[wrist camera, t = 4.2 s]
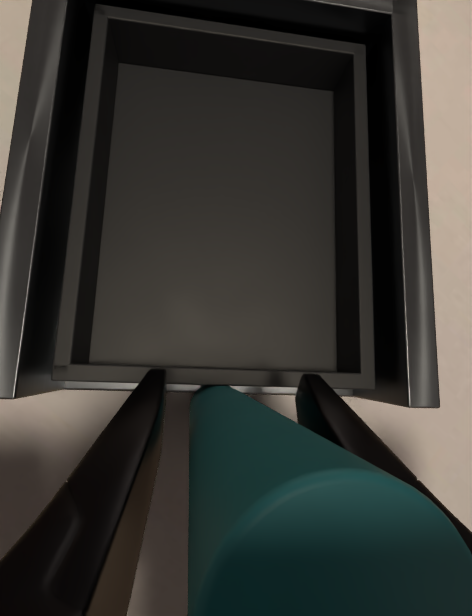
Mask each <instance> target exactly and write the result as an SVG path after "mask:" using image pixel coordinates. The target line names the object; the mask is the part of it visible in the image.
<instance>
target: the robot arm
mask: <svg viewBox="0 0 472 616" xmlns="http://www.w3.org/2000/svg"><path fill="white" fill-rule="evenodd" d="M166 394H167V372H166V369H160V368H151V369H150V370H149V371H148V372H147V373H146V375H145V376H144V377H143V379H142V380H141V381H140V383H139V384H138V385H137V387H136V388H135V389H134V391H133V392H132V393H131V395H130V396H129V397H128V399H127V400H126V401H125V403H124V404H123V405H122V407H121V408H120V409H119V411H118V412H117V413H116V415H115V416H114V417H113V419H112V420H111V421H110V423H109V424H108V425H107V427H106V428H105V429H104V431H103V432H102V433H101V435H100V436H99V437H98V439H97V440H96V441H95V443H94V444H93V445H92V447H91V448H90V449H89V451H88V452H87V453H86V455H85V456H84V457H83V459H82V460H81V461H80V463H79V464H78V465H77V467H76V468H75V469H74V471H73V472H72V473H71V475H70V476H69V477H68V479H67V482H68V483H67V482H65V483H64V484H63V485H62V486H61V488H60V489H59V490H58V492H57V493H56V494H55V496H54V497H53V498H52V500H51V501H50V502H49V503H48V505H47V506H46V507H45V508H44V510H43V511H42V512H41V513H40V515H39V516H38V517H37V519H36V520H35V521H34V522H33V523H32V525H31V526H30V527H29V528H28V529H27V530H26V532H25V533H24V534H23V535H22V536H21V537H20V538H19V540H18V541H17V542H16V543H15V544H14V545H13V546H12V548H11V549H10V550H9V551H8V552H7V553H6V554H5V555H4V557H3V558H2V559H1V560H0V616H127V612H128V607H129V602H130V598H131V593H132V588H133V584H134V579H135V574H136V570H137V565H138V560H139V556H140V551H141V546H142V541H143V537H144V532H145V527H146V523H147V518H148V513H149V509H150V504H151V499H152V495H153V490H154V485H155V481H156V476H157V471H158V467H159V462H160V456H161V449H162V440H163V428H164V417H165V406H166ZM295 402H296V410H297V418H298V424H300V425H301V426H303V427H305V428H307V429H309V430H311V431H312V432H314V433H316V434H318V435H320V436H321V437H323V438H325V439H327V440H329V441H331V442H332V443H334V444H336V445H338V446H340V447H342V448H343V449H345V450H347V451H349V452H351V453H352V454H354V455H356V456H358V457H360V458H362V459H363V460H365V461H367V462H369V463H371V464H373V465H374V466H376V467H378V468H380V469H382V470H383V471H385V472H387V473H389V474H391V475H393V476H394V477H396V478H398V479H400V480H402V481H403V482H405V483H407V484H409V485H411V486H413V487H414V488H416V489H417V490H418V491H420V492H421V493H422V494H424V495H425V496H426V497H428V498H429V499H430V500H431V501H432V502H433V503H434V504H435V505H436V506H437V507H438V508H439V509H440V510H442V511H443V513H444V514H445V515H446V516H447V518H448V519H449V520H450V521H451V523H452V524H453V525H454V526H455V528H456V529H457V531H458V532H459V534H460V536H461V537H462V539H463V540H464V542H465V544H466V545H467V547H468V548H469V550H470V552H471V554H472V532H471V531H470V530H469V529H468V528H467V527H466V526H465V525H463V524H462V523H461V522H460V521H459V520H458V519H457V518H456V517H455V516H454V515H453V514H452V513H451V512H450V511H449V510H448V509H447V508H446V507H445V506H444V505H443V504H442V503H441V502H440V501H439V500H438V499H437V498H436V497H435V496H434V495H433V494H432V493H431V492H430V491H429V490H428V489H427V488H426V487H425V485H424V484H423V483H422V482H421V481H419V480H417V477H416V476H415V475H414V474H413V473H412V472H411V471H410V470H409V469H408V468H407V467H406V466H405V465H404V464H403V463H402V461H401V460H400V459H399V458H398V457H397V456H396V455H395V454H394V453H393V452H392V451H391V450H390V449H389V448H388V447H387V446H386V445H385V444H384V443H383V441H382V440H381V439H380V438H379V437H378V436H377V435H376V434H375V433H374V432H373V431H372V430H371V429H370V428H369V427H368V426H367V425H366V424H365V423H364V421H363V420H362V419H361V418H360V417H359V416H358V415H357V414H356V413H355V412H354V411H353V410H352V409H351V408H350V407H349V406H348V405H347V404H346V403H345V402H344V400H343V399H342V398H341V397H340V396H339V395H338V394H337V393H336V392H335V391H334V390H333V389H332V388H331V387H330V386H329V385H328V384H327V383H326V382H325V380H324V379H323V378H322V377H321V376H320V375H318V374H313V373H304V374H303V375H302V376H301V379H300V382H299V385H298V388H297V392H296V397H295Z"/></svg>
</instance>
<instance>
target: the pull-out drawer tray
mask: <svg viewBox="0 0 472 616" xmlns="http://www.w3.org/2000/svg"><path fill="white" fill-rule="evenodd" d="M95 4H101V5H108V6H114V7H121V8H127V9H134V10H140V11H147V12H154V13H160V14H167V15H173V16H180V17H186V18H193V19H199V20H206V21H213V22H219V23H226V24H232V25H239V26H245V27H252V28H259V29H265V30H272V31H278V32H285V33H291V34H298V35H304V36H311V37H318V38H324V39H331V40H337V41H344V42H350V43H358V44H364V45H366V79H367V113H368V148H369V182H370V216H371V251H372V285H373V319H374V354H375V390H362V389H333V390H334V391H335V392H336V393H337V394H338V395H339V396H348V397H358V398H363V399H368V400H373V401H378V402H383V403H388V404H393V405H398V406H403V407H409V408H440V398H439V381H438V363H437V346H436V328H435V311H434V294H433V276H432V259H431V242H430V224H429V207H428V189H427V172H426V155H425V137H424V120H423V102H422V85H421V68H420V50H419V33H418V14H417V0H32V6H31V13H30V19H29V26H28V33H27V39H26V46H25V52H24V59H23V66H22V72H21V79H20V86H19V92H18V99H17V106H16V112H15V119H14V125H13V132H12V139H11V145H10V152H9V159H8V165H7V172H6V179H5V185H4V192H3V198H2V205H1V212H0V399H17V398H22V397H27V396H32V395H37V394H42V393H47V392H52V391H57V390H63V389H67V390H107V391H134V389H135V388H136V387H137V385H138V384H139V383H108V382H72V381H52V380H51V375H52V367H53V359H54V350H55V342H56V333H57V325H58V316H59V308H60V299H61V290H62V282H63V273H64V265H65V256H66V248H67V239H68V230H69V222H70V213H71V205H72V196H73V187H74V179H75V170H76V162H77V153H78V145H79V136H80V127H81V119H82V110H83V102H84V93H85V84H86V76H87V67H88V59H89V50H90V42H91V33H92V24H93V16H94V7H95ZM202 386H203V385H181V384H167V392H188V393H195V392H196V391H197V390H198V389H199V388H200V387H202ZM230 387H232V388H234V389H236V390H238V391H240V392H241V393H243V394H268V395H296V392H297V388H289V387H253V386H230Z"/></svg>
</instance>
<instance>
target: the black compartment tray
mask: <svg viewBox="0 0 472 616" xmlns="http://www.w3.org/2000/svg"><path fill="white" fill-rule="evenodd" d="M151 368H160V369H166V372H167V384H181V385H203V386H202V387H200V388H199V389H198V390H197V391H196V392H195V393H194V395H193V397H192V399H191V402H190V408H189V526H188V616H472V554H471V552H470V550H469V548H468V547H467V545H466V544H465V542H464V540H463V539H462V537H461V536H460V534H459V532H458V531H457V529H456V528H455V526H454V525H453V524H452V523H451V521H450V520H449V519H448V518H447V516H446V515H445V514H444V513H443V511H442V510H440V509H439V508H438V507H437V506H436V505H435V504H434V503H433V502H432V501H431V500H430V499H429V498H428V497H426V496H425V495H424V494H422V493H421V492H420V491H418V490H417V489H416V488H414V487H413V486H411V485H409V484H407V483H405V482H403V481H402V480H400V479H398V478H396V477H394V476H393V475H391V474H389V473H387V472H385V471H383V470H382V469H380V468H378V467H376V466H374V465H373V464H371V463H369V462H367V461H365V460H363V459H362V458H360V457H358V456H356V455H354V454H352V453H351V452H349V451H347V450H345V449H343V448H342V447H340V446H338V445H336V444H334V443H332V442H331V441H329V440H327V439H325V438H323V437H321V436H320V435H318V434H316V433H314V432H312V431H311V430H309V429H307V428H305V427H303V426H301V425H300V424H298V423H296V422H294V421H292V420H291V419H289V418H287V417H285V416H283V415H281V414H280V413H278V412H276V411H274V410H272V409H270V408H269V407H267V406H265V405H263V404H261V403H260V402H258V401H256V400H254V399H252V398H250V397H249V396H247V395H245V394H243V393H241V392H240V391H238V390H236V389H234V388H232V387H230V386H253V387H289V388H298V385H299V382H300V379H301V376H302V375H303V374H304V373H313V374H318V375H320V376H321V377H322V378H323V379H324V380H325V382H326V383H327V384H328V385H329V386H330V387H331V388H332V389H362V390H375V354H374V319H373V285H372V251H371V216H370V182H369V148H368V113H367V79H366V45H364V44H358V43H350V42H344V41H337V40H331V39H324V38H318V37H311V36H304V35H298V34H291V33H285V32H278V31H272V30H265V29H259V28H252V27H245V26H239V25H232V24H226V23H219V22H213V21H206V20H199V19H193V18H186V17H180V16H173V15H167V14H160V13H154V12H147V11H140V10H134V9H127V8H121V7H114V6H108V5H101V4H95V7H94V16H93V24H92V33H91V42H90V50H89V59H88V67H87V76H86V84H85V93H84V102H83V110H82V119H81V127H80V136H79V145H78V153H77V162H76V170H75V179H74V187H73V196H72V205H71V213H70V222H69V230H68V239H67V248H66V256H65V265H64V273H63V282H62V290H61V299H60V308H59V316H58V325H57V333H56V342H55V350H54V359H53V367H52V375H51V380H52V381H72V382H108V383H140V381H141V380H142V379H143V377H144V376H145V375H146V373H147V372H148V371H149V370H150V369H151Z"/></svg>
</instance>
